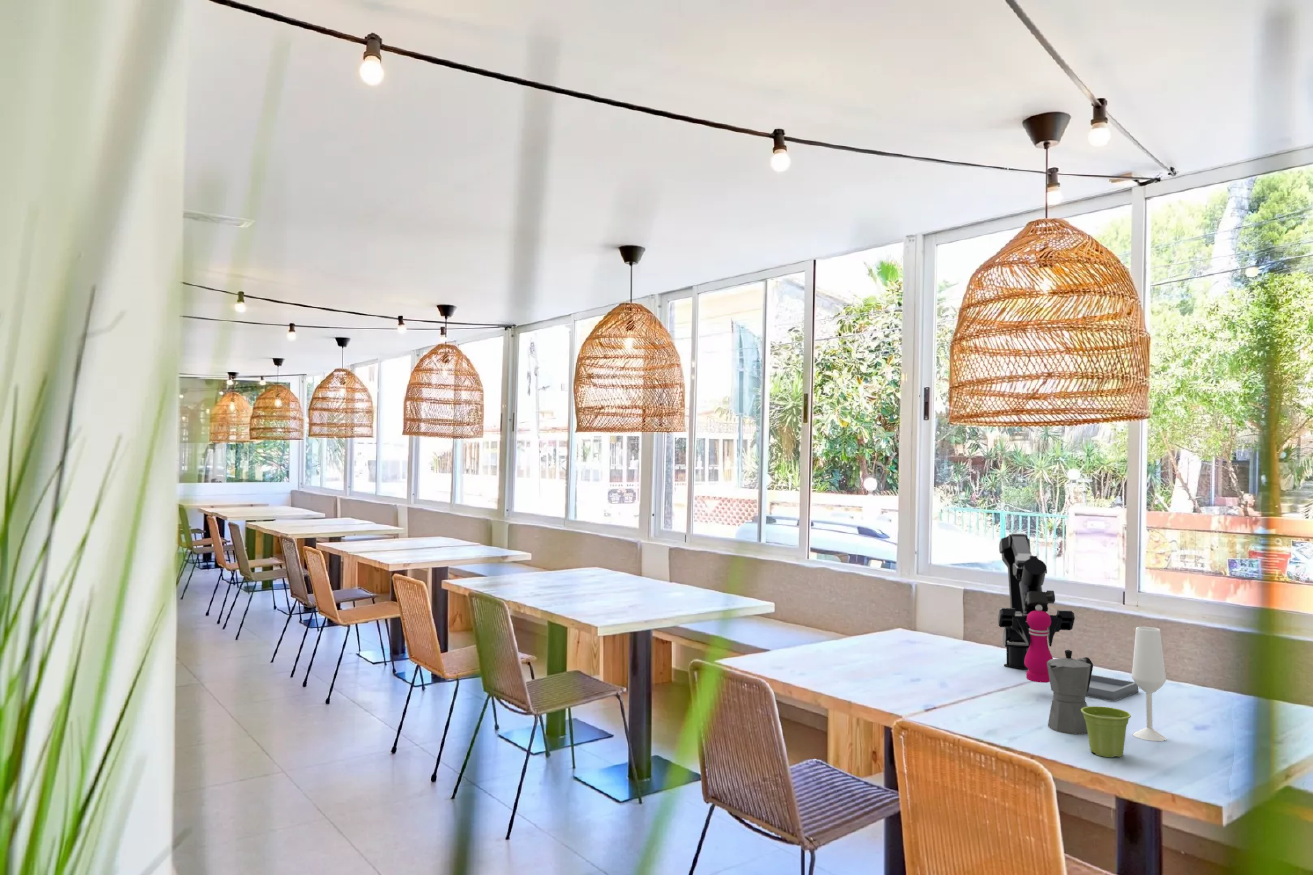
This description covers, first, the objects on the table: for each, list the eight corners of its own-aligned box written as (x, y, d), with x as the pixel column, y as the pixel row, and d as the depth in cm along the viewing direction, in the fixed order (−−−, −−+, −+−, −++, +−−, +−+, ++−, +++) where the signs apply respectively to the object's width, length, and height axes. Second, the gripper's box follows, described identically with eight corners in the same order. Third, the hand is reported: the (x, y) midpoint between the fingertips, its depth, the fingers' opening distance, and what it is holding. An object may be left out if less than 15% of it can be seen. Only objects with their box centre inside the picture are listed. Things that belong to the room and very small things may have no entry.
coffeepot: (1071, 738, 194) (1069, 656, 195) (1033, 727, 202) (1032, 649, 203) (1111, 728, 202) (1110, 649, 203) (1073, 718, 210) (1072, 642, 211)
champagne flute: (1150, 742, 192) (1148, 631, 193) (1125, 733, 198) (1124, 626, 199) (1174, 739, 194) (1172, 630, 194) (1149, 730, 200) (1147, 625, 201)
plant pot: (1078, 755, 182) (1077, 713, 183) (1084, 743, 190) (1084, 703, 191) (1129, 763, 177) (1128, 720, 178) (1133, 751, 185) (1133, 710, 185)
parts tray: (1053, 689, 238) (1053, 680, 238) (1079, 681, 248) (1079, 672, 248) (1113, 701, 226) (1113, 691, 226) (1138, 691, 236) (1138, 682, 236)
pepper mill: (1018, 677, 235) (1018, 603, 235) (1037, 674, 238) (1037, 601, 238) (1040, 684, 229) (1040, 608, 228) (1059, 681, 232) (1059, 605, 232)
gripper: (999, 578, 240) (1005, 625, 229) (1072, 580, 235) (1082, 629, 224) (995, 602, 247) (1001, 649, 236) (1066, 605, 243) (1076, 653, 232)
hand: (1039, 645), depth 232 cm, fingers closed on pepper mill, 5 cm apart
